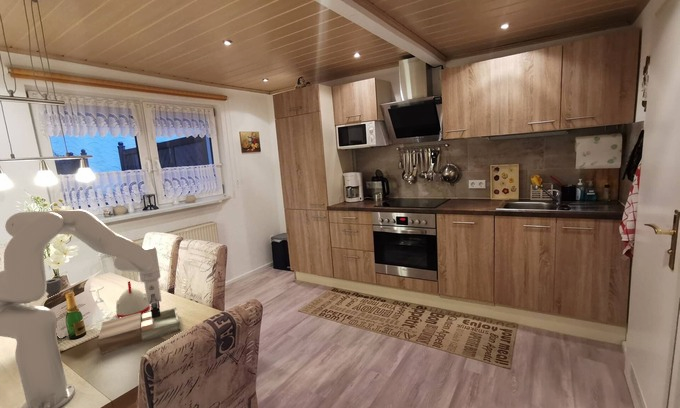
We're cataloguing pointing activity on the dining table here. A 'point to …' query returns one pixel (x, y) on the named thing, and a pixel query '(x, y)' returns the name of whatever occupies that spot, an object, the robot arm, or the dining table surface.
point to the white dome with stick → (132, 302)
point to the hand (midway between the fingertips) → (156, 312)
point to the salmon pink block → (147, 325)
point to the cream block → (147, 317)
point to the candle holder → (53, 288)
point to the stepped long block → (135, 330)
